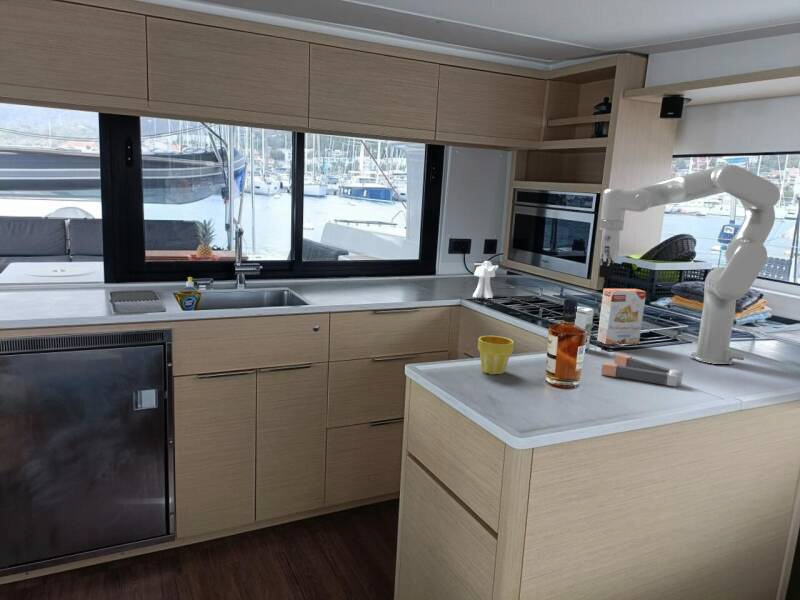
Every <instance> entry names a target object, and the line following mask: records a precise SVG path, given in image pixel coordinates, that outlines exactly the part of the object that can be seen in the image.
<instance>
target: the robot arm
mask: <svg viewBox="0 0 800 600" xmlns="http://www.w3.org/2000/svg"><path fill="white" fill-rule="evenodd" d="M722 193H727V194H729V195H730V196H732V197H734V198H735V199H738V200H739V201H740V203H741V205H742V207H743V210H744V218H743V220H742V222H741V224H740V226H739V228H738V230H737V232H736V233H735V235H734V236H733V238H732V239H731V241H730V243H729V244H728V245H727V247H726V249H725V253H724V257H725V259H726V261H727V264H726V265H725V266H722V267H721V266H720V267H716V268H713V269H711V271H710V272H708V273H707V274H706V277H705V280H704V291H703V293H704V294H703V305H702V311H701V316H700V317H701V318H700V324H699V325H700V326H699V331H698V338H697V345H696V351H694V352H691V353H690V357H691V356H692V357H693V358H695V359H698V360H701V361H705V362H710V363H715V364H730V363H732V364H733V359H735V360H740V361H744V359H745V354H744V353H743V354H742V353H739V352H733V351H732V350H731V349H730V346H731V345H730V344H731V337H732V334H733V333H732V332H733V327H734V326H733V325H734V320H735V314H736V307H737V306H736V303H737V300H741V298H743V297H744V296H745V295H746V294H747V293H748V291H749V290H750V289H751V287H752V285H753V284H754V282H755V281H756V279H757V277H758V276H759V275H760V273H761V271H762V270H763V268H764V266H765V265H766V262H767V259H768V250H767V248H766V247H765V245H764V243H766V240H767V239H768V237H769V235H770V233H771V231H772V229H773V227H774V224H775V220H776V215H775V214H776V212H775V206H776V205H777V204H778V202H779V201H780V199H781V193H780V189H779V187H778V186H777V185H776V184H775V183H774V182H772V181H770V180H768V179H766V178H763V177H762V176H759V175H757V174H756V173H753V172H751V171H749V170H747V169H745V168H743V167H741V166H738V165H737V164H725V165H724V164H723V165H719V166H715V167H712V168H707V169H703V170H700V171H696V172H691V173H689V174H684V175H681V176H677V177H674V178H671V179H668V180H664V181H662V182H657V183H655V184H650V185H647V186H642V187H637V188H635V189H622V188H606V189H604V191H603V194H602V202H601V211H600V219H599V220H600V221H599V230H602V232H601V233H602V235H601V240H600V250H599V251H600V253H599V254H600V255H599V258H600V265H599V271H598V272H599V274H598V276H599V278H604V279H608V278H609V277H610V275H611V276H612V275H614V268H615V260H616V259H618V258H619V253H620V252H619V250H620V240H621V238H620V237H621V232H623V231H624V224H625V223H624V222H625V215H626V211H630V212H635V213H642V212H645V211H648V209H650V208H653V207H655V208H656V207H659V206H663V205H668V204H681V203H682V204H683V203H687V202H690V201H694V200H695V201H696V200H697V199H702V198H706V197H711V196H714V195H718V194H722ZM730 365H731V364H730Z"/></svg>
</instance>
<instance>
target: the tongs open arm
mask: <svg viewBox="0 0 800 600" xmlns="http://www.w3.org/2000/svg"><path fill="white" fill-rule="evenodd" d="M614 364H617V365H619V366H625V367H632V368H638V369H644V370H651V371H657V372H663V373H669V370H672V369H671V368H668V367H667V368H666V367H664V366H660V365H658V364H654V363H650V362H648V361H647V362H646V361H643V360H639V359H638V358H637V359H636V358H633V357H632V356H629V355H626V354H623V353H618V354H615V358H614Z"/></svg>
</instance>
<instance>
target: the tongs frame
mask: <svg viewBox="0 0 800 600" xmlns="http://www.w3.org/2000/svg"><path fill="white" fill-rule="evenodd" d="M600 372H601V373H600V375H603V376H608V377H613V378H623V379H628V380H634V381H641V382H645V383H651V384H652V383H653V384H657V385H664V386H670V387H676V386H680V385H681V386H682V380H683V374H684V372H683V371H682V370H678V369H671V370H669V373H663V372H657V371H651V370H644V369H638V368H632V367H625V366H619V365H617V364H615V363H613V362H607V361H606V362H605V361H603V362H602V365H601V371H600ZM681 386H680V387H681ZM676 388H677V387H676Z"/></svg>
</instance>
